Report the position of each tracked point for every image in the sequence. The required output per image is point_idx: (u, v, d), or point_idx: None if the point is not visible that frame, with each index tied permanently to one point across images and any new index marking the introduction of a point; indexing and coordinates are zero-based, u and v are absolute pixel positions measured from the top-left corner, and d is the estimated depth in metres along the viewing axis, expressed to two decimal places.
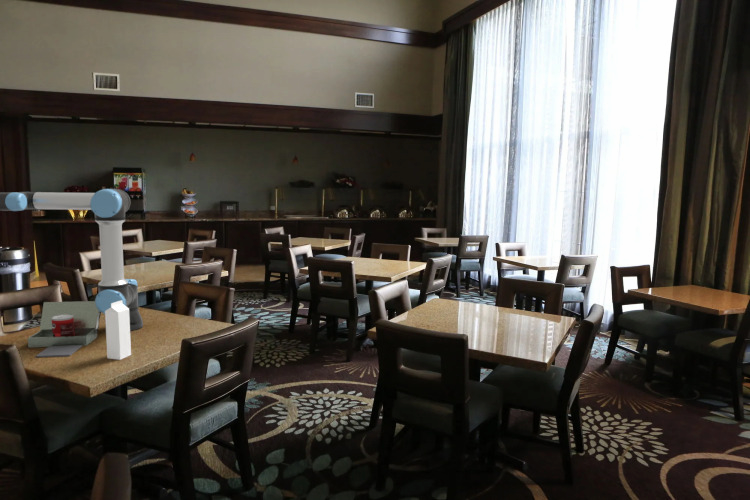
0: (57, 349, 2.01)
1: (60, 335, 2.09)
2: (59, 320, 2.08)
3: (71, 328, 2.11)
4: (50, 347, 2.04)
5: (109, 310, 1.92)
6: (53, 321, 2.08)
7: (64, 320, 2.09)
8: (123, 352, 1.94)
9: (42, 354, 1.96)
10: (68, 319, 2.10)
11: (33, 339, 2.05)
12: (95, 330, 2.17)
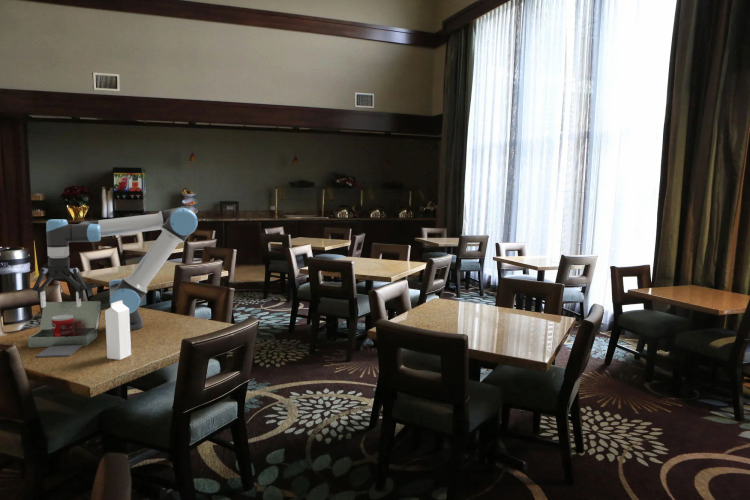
0: (57, 349, 2.01)
1: (60, 335, 2.09)
2: (59, 320, 2.08)
3: (71, 328, 2.11)
4: (50, 347, 2.04)
5: (109, 310, 1.92)
6: (53, 321, 2.08)
7: (64, 320, 2.09)
8: (123, 352, 1.94)
9: (42, 354, 1.96)
10: (68, 319, 2.10)
11: (33, 339, 2.05)
12: (95, 330, 2.17)
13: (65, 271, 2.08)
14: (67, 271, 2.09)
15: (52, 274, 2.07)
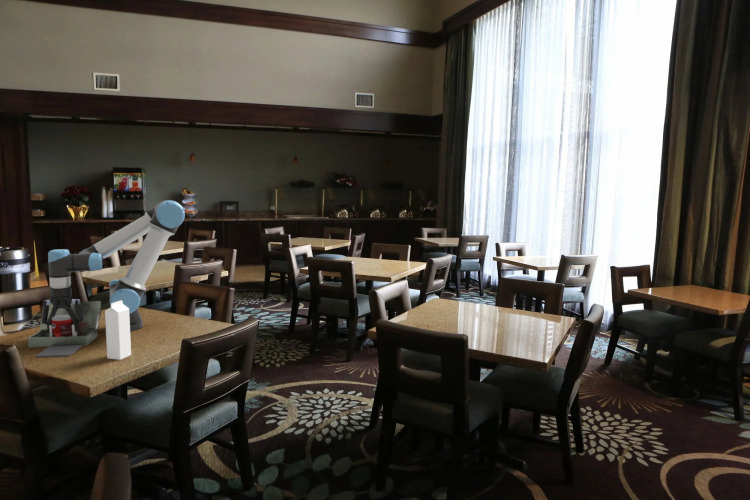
0: (57, 349, 2.01)
1: (60, 335, 2.09)
2: (59, 320, 2.08)
3: (71, 328, 2.11)
4: (50, 347, 2.04)
5: (109, 310, 1.92)
6: (53, 321, 2.08)
7: (64, 320, 2.09)
8: (123, 352, 1.94)
9: (42, 354, 1.96)
10: (68, 319, 2.10)
11: (33, 339, 2.05)
12: (95, 330, 2.17)
13: (67, 300, 2.10)
14: (69, 301, 2.10)
15: (55, 304, 2.09)
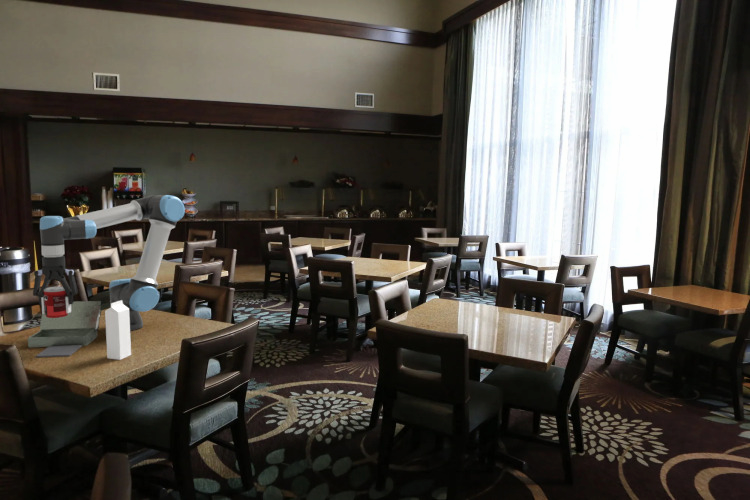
0: (57, 349, 2.01)
1: (53, 308, 1.95)
2: (52, 291, 1.94)
3: (64, 300, 1.97)
4: (50, 347, 2.04)
5: (109, 310, 1.92)
6: (45, 292, 1.95)
7: (57, 291, 1.95)
8: (123, 352, 1.94)
9: (42, 354, 1.96)
10: (61, 291, 1.96)
11: (33, 339, 2.05)
12: (95, 330, 2.17)
13: (60, 271, 1.96)
14: (62, 271, 1.96)
15: (47, 275, 1.95)
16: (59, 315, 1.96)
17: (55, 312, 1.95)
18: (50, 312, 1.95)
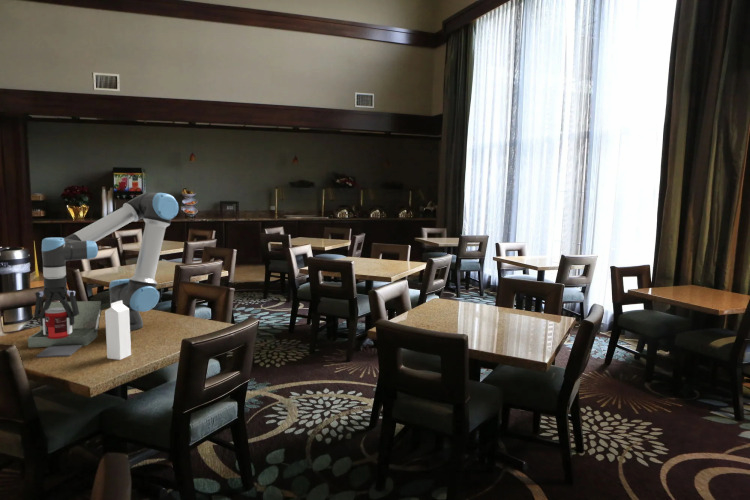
0: (57, 349, 2.01)
1: (54, 329, 1.96)
2: (53, 313, 1.95)
3: (65, 321, 1.98)
4: (50, 347, 2.04)
5: (109, 310, 1.92)
6: (46, 314, 1.95)
7: (58, 313, 1.96)
8: (123, 352, 1.94)
9: (42, 354, 1.96)
10: (63, 312, 1.97)
11: (33, 339, 2.05)
12: (95, 330, 2.17)
13: (62, 292, 1.97)
14: (64, 292, 1.97)
15: (49, 296, 1.96)
16: (60, 336, 1.97)
17: (56, 333, 1.96)
18: (51, 333, 1.96)
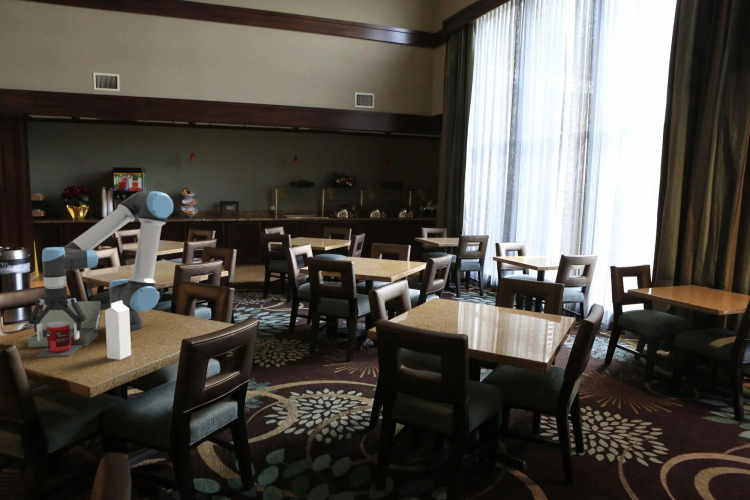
0: None
1: (55, 343, 1.97)
2: (54, 327, 1.96)
3: (67, 335, 1.99)
4: None
5: (109, 310, 1.92)
6: (48, 328, 1.96)
7: (59, 327, 1.97)
8: (123, 352, 1.94)
9: (42, 354, 1.96)
10: (64, 326, 1.98)
11: (33, 339, 2.05)
12: (95, 330, 2.17)
13: (62, 302, 1.98)
14: (64, 302, 1.98)
15: (49, 305, 1.96)
16: (62, 350, 1.98)
17: (58, 347, 1.97)
18: (52, 347, 1.97)
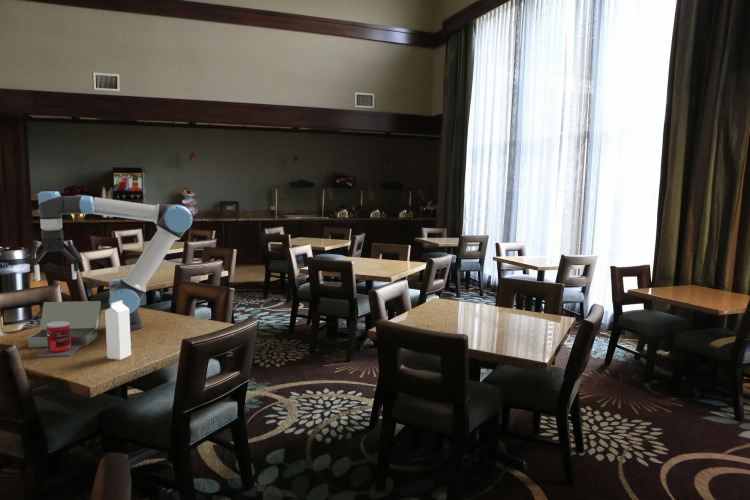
0: None
1: (55, 343, 1.97)
2: (54, 327, 1.96)
3: (67, 335, 1.99)
4: None
5: (109, 310, 1.92)
6: (48, 328, 1.96)
7: (60, 327, 1.97)
8: (123, 352, 1.94)
9: (42, 354, 1.96)
10: (64, 326, 1.98)
11: (33, 339, 2.05)
12: (95, 330, 2.17)
13: (59, 243, 2.07)
14: (61, 243, 2.07)
15: (46, 247, 2.05)
16: (62, 350, 1.98)
17: (58, 347, 1.97)
18: (52, 347, 1.97)
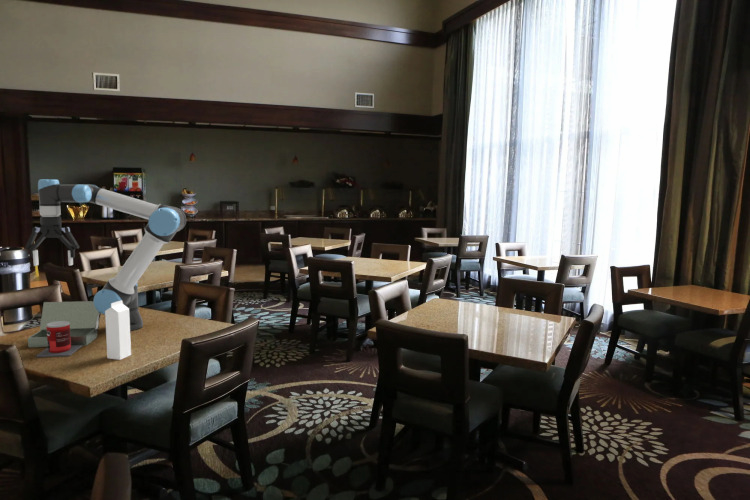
0: None
1: (55, 343, 1.97)
2: (54, 327, 1.96)
3: (67, 335, 1.99)
4: None
5: (109, 310, 1.92)
6: (48, 328, 1.96)
7: (59, 327, 1.97)
8: (123, 352, 1.94)
9: (42, 354, 1.96)
10: (64, 326, 1.98)
11: (33, 339, 2.05)
12: (95, 330, 2.17)
13: (57, 230, 2.13)
14: (59, 230, 2.13)
15: (44, 233, 2.12)
16: (62, 350, 1.98)
17: (58, 347, 1.97)
18: (52, 347, 1.97)
